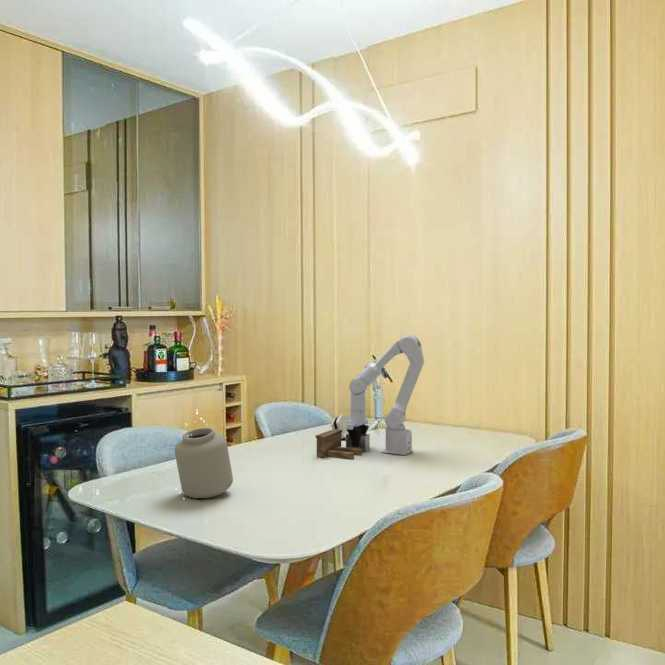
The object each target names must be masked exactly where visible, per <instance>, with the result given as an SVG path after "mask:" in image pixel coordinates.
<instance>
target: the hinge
mask: <svg viewBox="0 0 665 665" xmlns="http://www.w3.org/2000/svg"><path fill="white" fill-rule="evenodd" d="M349 420H350V416H349V415H348V414H341V415H337V416H336V417H334V418H333V419H332V421H331V423H330V426H331V430H332V429H339V430H342V432H341V440H342V439H345V440H346V434H348V431H347V424H349V423H348V421H349Z"/></svg>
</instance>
